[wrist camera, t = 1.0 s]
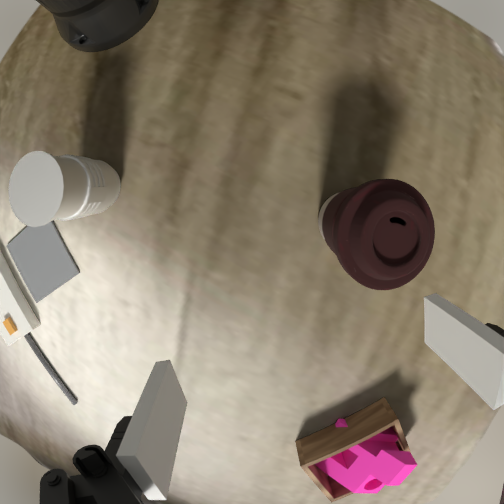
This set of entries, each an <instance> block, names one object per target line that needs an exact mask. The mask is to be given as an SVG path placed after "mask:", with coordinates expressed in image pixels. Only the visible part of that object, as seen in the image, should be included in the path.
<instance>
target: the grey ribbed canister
mask: <svg viewBox="0 0 504 504" xmlns="http://www.w3.org/2000/svg"><path fill="white" fill-rule="evenodd" d="M120 188H121V184H120V178H119V175H118V174H117V172H116V171H115V169H113V168H112V167H111V166H110V165H108V164H107V163H106V162H104V161H101V160H93V159H90V158H88V157H81V156H74V155H62V156H53V155H52V154H49V153H47V152H44V151H34V152H31V153H28V154H26V155H25V156H24V157H22V158H21V159H20V160H19V162H18V163H17V164H16V166H15V168H14V170H13V172H12V174H11V178H10V181H9V201H10V205H11V208H12V210H13V212H14V214H15V216H16V217H17V218H18V219H19V220H20V221H21V222H22V223H24V224H25V225H27V226H31V227H38V226H43V225H46V224H47V223H49V222H51V221H53V220H62V221H67V220H73V219H77V218H82V217H86V216H89V215H91V214H98V213H101V212H103V211H105V210H106V209H107V208H109V207H110V206H111V205H112V204H113V203H115V201H116V200H117V198H118V196H119V193H120Z"/></svg>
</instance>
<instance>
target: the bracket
mask: <svg viewBox="0 0 504 504" xmlns="http://www.w3.org/2000/svg"><path fill="white" fill-rule="evenodd" d="M335 425H336V427H348V426H347V424H346V421H345V419H340V418H339V419H338V420H337V422H336V423H335ZM397 439H398V437H397V435H396V433H395V431H394V430H393V428H392V426H391V427H389V428H388V429H386V430H384V431H382V432H380V433H379V434H377V435H375V436H373V437H371V438H369V439H367V440H365V441H363V442H361V443H359V444H357V445H355V446H353V447H351V448H349V449H347V450H345V451H343V452H341V453H338V454H336V455H334V456H332V457H330V458H327V459H325V460H323V461H320V462H318V463H316V464H315V465H316V466H317V467H318V468H319V469H321V470H322V471H323V472H325V473H326V474H327V475H329V476H330V477H332V478H333V479H334V480H336V481H337V482H339V483H340V484H341V485H343V486H344V487H346V488H347V489H349V490H350V491H351V492H353V493H378V492H379V491H380V490H381V489H382V488H383V487H384V486H385V485H387V486H392V485H400V484H401V483H402V481H403V480H404V479H405V478H406V477H407V476H408V475H409V474H410V473H411V471H412V470H413V469H414V468H415V467H416V466H417V463H416V462H415V460H414V458H413V456H412V455H411V453H410V451H399V449H398V447H397V445H396V444H395V442H396V441H397Z"/></svg>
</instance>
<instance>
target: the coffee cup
mask: <svg viewBox="0 0 504 504" xmlns="http://www.w3.org/2000/svg"><path fill="white" fill-rule="evenodd" d="M318 225H319V230H320V233H321V235H322V237H323V238H324V240H325V241H326V243H327V245H328V246H329V247H330V249H331V250H332V251H333V252H334V253H335V254H336V255H337V258H338V260H339V262H340V264H341V265H342V267H343V268H344V270H345V271H346V272H347V273H348V274H349V275H350V276H351V277H352V278H353V279H355V280H356V281H357V282H358V283H360V284H362V285H364V286H366V287H368V288H371V289H376V290H390V289H394V288H398V287H401V286H403V285H404V284H406V283H408V282H410V281H411V280H412V279H413V278H415V277H416V276H417V275H418V274H419V272H420V271H421V270H422V269H423V268H424V266H425V265H426V263H427V261H428V259H429V257H430V254H431V252H432V248H433V244H434V236H435V228H434V220H433V216H432V213H431V210H430V208H429V205H428V204H427V202H426V200H425V199H424V197H423V196H422V195H421V194H420V193H419V192H418V191H417V190H416V189H415V188H414V187H412V186H411V185H409V184H407V183H405V182H402V181H399V180H395V179H378V180H372V181H369V182H366V183H364V184H362V185H361V186H359V187H355V188H350V189H347V190H344V191H342V192H339V193H336V194H334V195H332V196H331V197H329V198H328V199H327V200H326V201H325V203H324V204H323V206H322V207H321V210H320V213H319V218H318Z"/></svg>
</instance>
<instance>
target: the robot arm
mask: <svg viewBox="0 0 504 504" xmlns="http://www.w3.org/2000/svg"><path fill="white" fill-rule="evenodd" d="M36 1H37V2H39V3H40V4H41V5H42V6H44V7H45V8H46V9H47V10H49V11H50V12H51V13H52V14H53V17H54V19H55V22H56V25H57V28H58V30H59V33H60V35H61V37H62V38H63V39H64V40H65V41H66V42H67V43H68V44H70V45H71V46H72V47H74V48H75V49H77V50H80V51H84V52H98V51H103V50H107V49H110V48H112V47H115V46H117V45H119V44H121V43H123V42H125V41H126V40H128V39H129V38H131V37H132V36H134V35H135V34H136V33H137V32H138V31H139V30H141V29H142V28H143V26H144V25H145V24H146V23H147V22H148V21H149V19H150V18H151V16H152V15H153V13H154V11H155V9H156V6H157V3H158V0H36ZM424 312H425V343H426V344H427V345H428V346H429V347H430V348H431V349H432V350H433V351H434V352H435V353H436V354H437V355H438V356H439V357H440V358H441V359H442V360H443V361H445V362H446V363H447V364H448V365H449V366H450V367H451V368H452V369H453V370H454V371H455V372H456V373H457V374H458V375H459V376H460V377H461V378H462V379H463V380H464V381H465V382H466V383H467V384H468V385H469V386H470V387H471V388H472V389H473V390H474V391H475V392H476V393H477V394H478V395H479V396H480V397H481V398H482V399H483V400H484V401H485V402H486V403H487V404H488V405H489V406H490V407H491V408H492V409H493V410H495V409H497V408H498V407H500V406H502V405H503V404H504V330H503V329H502V328H500V327H499V326H497V325H493V324H490V323H487V324H483V323H482V322H480V321H479V320H477V319H476V318H474V317H473V316H471V315H469V314H468V313H466V312H465V311H463V310H462V309H460V308H459V307H457V306H456V305H454V304H452V303H451V302H449V301H448V300H446V299H445V298H443V297H441V296H440V295H438V294H437V293H435V294H432V295H429V296H426V297H424ZM186 406H187V400H186V398H185V396H184V393H183V391H182V389H181V386H180V384H179V381H178V379H177V376H176V374H175V371H174V369H173V366H172V364H171V361H170V360H166V361H159V362H156V363H155V365H154V367H153V370H152V372H151V374H150V376H149V379H148V381H147V383H146V385H145V388H144V390H143V392H142V395H141V397H140V399H139V402H138V404H137V406H136V409H135V411H134V413H133V416H124V417H123V418H122V419H121V421H120V422H119V423H118V424H117V425H116V428H115V430H114V433H113V434H112V436H111V440H110V441H109V443H108V445H107V447H106V449H105V451H104V450H103V449H102V448H101V447H100V446H98V445H88V446H85V447H83V448H81V449H79V450H78V451H77V452H76V453H75V454H74V457H73V464H74V465H75V467H76V468H77V469H78V471H79V472H80V473H81V475H76V476H70V477H69V476H68V474H67V473H66V472H65V471H64V470H62V469H53V470H50V471H48V472H47V473H45V474H44V475H43V477H42V478H41V481H40V504H144V503H143V502H142V501H141V500H140V499H141V495H142V492H143V493H144V494H145V496H146V497H147V498H148V499H149V500H167V496H168V491H169V486H170V481H171V476H172V471H173V466H174V461H175V457H176V452H177V447H178V443H179V438H180V433H181V429H182V424H183V420H184V415H185V411H186ZM500 504H504V485H503V491H502V496H501V500H500Z"/></svg>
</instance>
